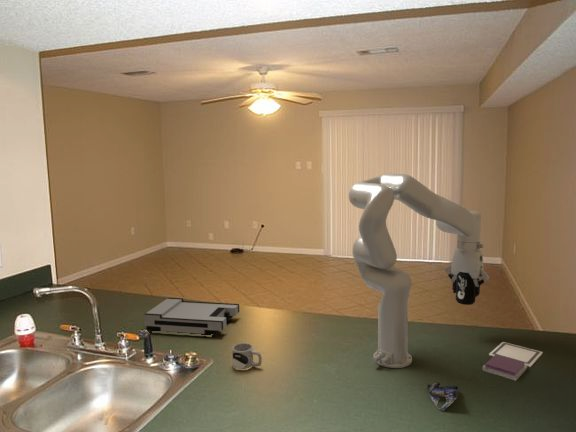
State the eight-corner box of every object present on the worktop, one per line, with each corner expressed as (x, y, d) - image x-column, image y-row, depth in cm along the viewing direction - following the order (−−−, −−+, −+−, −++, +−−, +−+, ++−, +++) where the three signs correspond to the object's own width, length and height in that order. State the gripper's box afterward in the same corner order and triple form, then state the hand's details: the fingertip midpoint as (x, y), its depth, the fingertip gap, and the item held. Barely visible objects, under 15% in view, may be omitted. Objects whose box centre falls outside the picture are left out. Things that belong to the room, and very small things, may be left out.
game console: (222, 340, 174) (221, 319, 173) (145, 334, 181) (143, 314, 180) (239, 319, 195) (238, 301, 193) (169, 315, 202) (168, 297, 200)
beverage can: (476, 305, 163) (478, 272, 162) (457, 304, 165) (458, 271, 163) (473, 300, 170) (474, 268, 168) (454, 299, 171) (455, 267, 169)
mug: (229, 369, 151) (228, 350, 150) (238, 360, 157) (237, 341, 156) (257, 373, 147) (257, 354, 146) (265, 364, 153) (265, 345, 152)
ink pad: (516, 380, 139) (516, 374, 138) (482, 370, 146) (482, 364, 145) (526, 368, 146) (527, 362, 146) (494, 359, 153) (494, 353, 152)
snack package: (412, 401, 130) (452, 416, 122) (414, 378, 130) (453, 392, 122) (433, 392, 139) (471, 405, 130) (434, 370, 138) (473, 382, 130)
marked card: (530, 367, 147) (530, 365, 147) (488, 355, 156) (488, 353, 156) (542, 353, 156) (543, 351, 156) (502, 342, 165) (502, 341, 165)
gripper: (497, 247, 161) (494, 297, 163) (449, 241, 173) (447, 287, 175) (488, 250, 156) (486, 302, 158) (440, 243, 167) (438, 291, 170)
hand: (465, 293), depth 167 cm, fingers closed on beverage can, 6 cm apart
